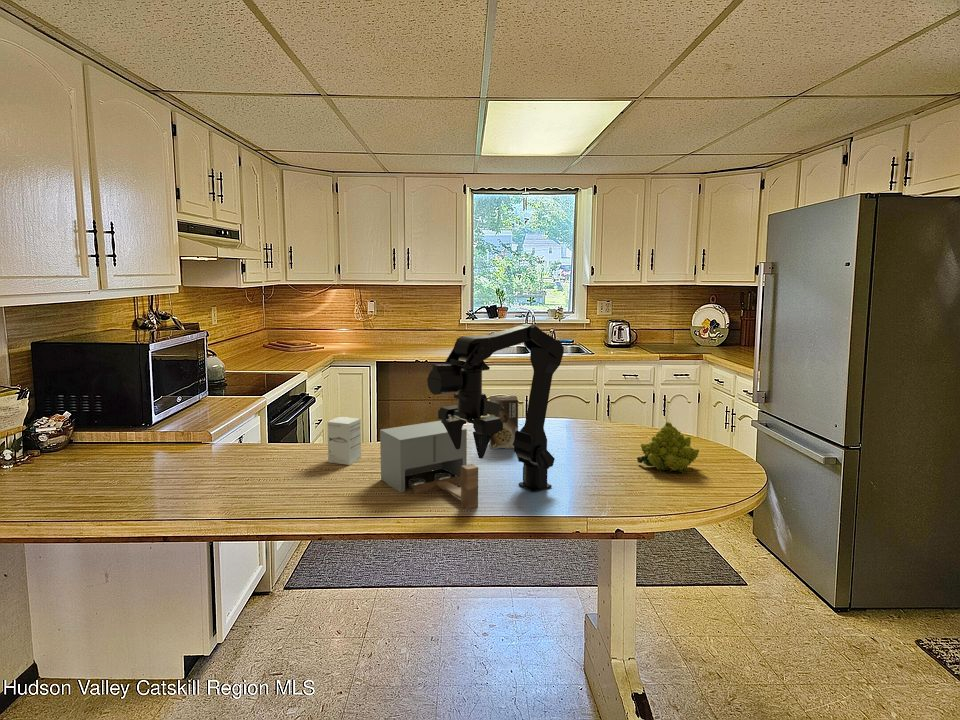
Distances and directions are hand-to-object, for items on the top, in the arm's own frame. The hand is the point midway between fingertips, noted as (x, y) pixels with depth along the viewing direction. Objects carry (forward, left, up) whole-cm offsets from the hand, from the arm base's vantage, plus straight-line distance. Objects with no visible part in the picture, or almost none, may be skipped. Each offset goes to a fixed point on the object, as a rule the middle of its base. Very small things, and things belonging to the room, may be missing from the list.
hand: (469, 453), depth 148 cm
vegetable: (-8, -64, -13) cm, 66 cm away
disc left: (+19, +4, -13) cm, 24 cm away
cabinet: (+23, 0, -13) cm, 26 cm away
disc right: (+19, -4, -13) cm, 24 cm away
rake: (+6, 0, -13) cm, 15 cm away
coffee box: (+37, -37, -13) cm, 54 cm away
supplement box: (+50, +12, -13) cm, 53 cm away
